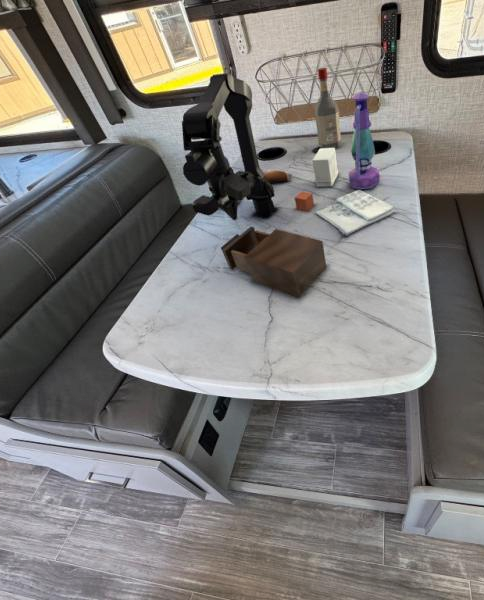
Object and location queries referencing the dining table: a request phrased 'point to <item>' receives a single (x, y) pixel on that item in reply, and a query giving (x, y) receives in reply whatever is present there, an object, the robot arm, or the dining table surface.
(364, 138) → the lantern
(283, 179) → the sunglasses case
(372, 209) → the open white book
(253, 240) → the drawer
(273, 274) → the cabinet
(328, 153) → the cosmetics box
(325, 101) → the liquor
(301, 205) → the block
